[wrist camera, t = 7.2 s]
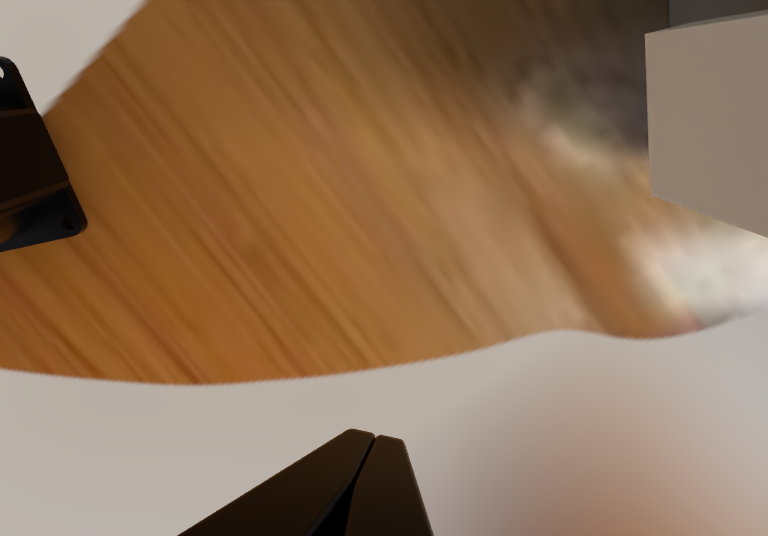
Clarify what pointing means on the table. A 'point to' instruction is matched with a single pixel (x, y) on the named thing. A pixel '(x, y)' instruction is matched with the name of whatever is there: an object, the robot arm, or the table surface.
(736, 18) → the block
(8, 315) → the table surface
